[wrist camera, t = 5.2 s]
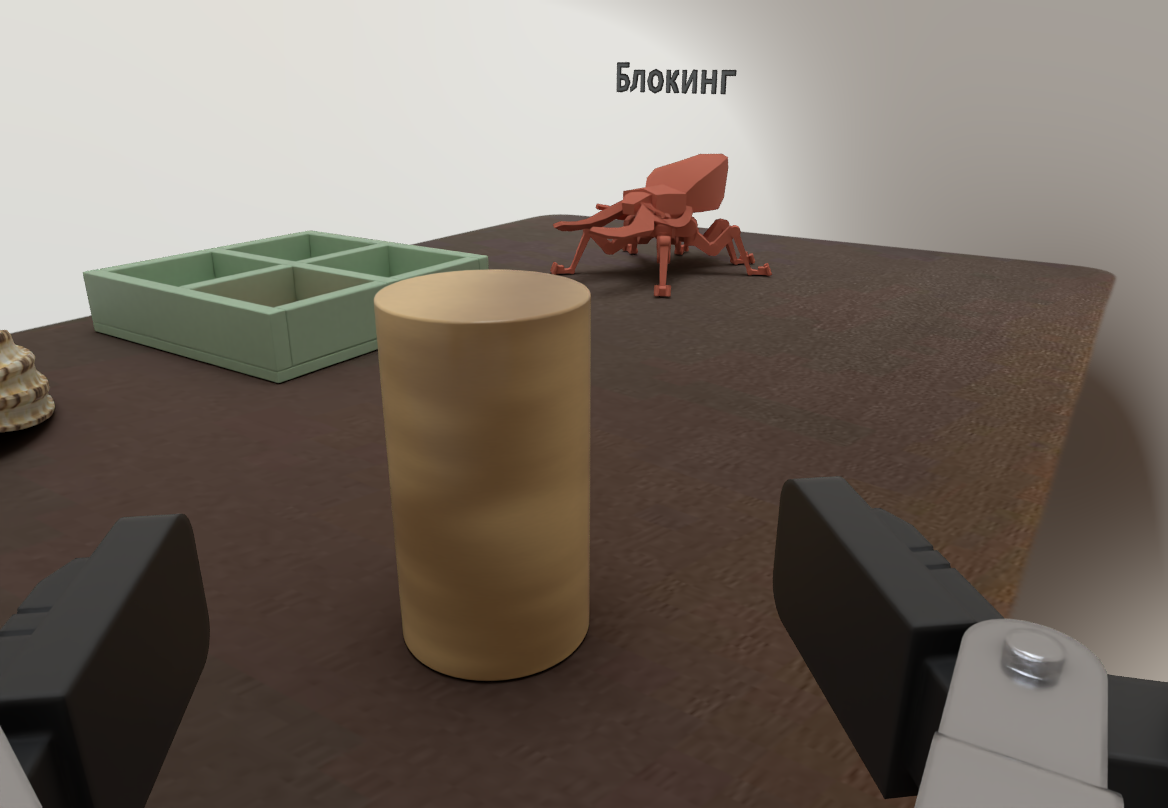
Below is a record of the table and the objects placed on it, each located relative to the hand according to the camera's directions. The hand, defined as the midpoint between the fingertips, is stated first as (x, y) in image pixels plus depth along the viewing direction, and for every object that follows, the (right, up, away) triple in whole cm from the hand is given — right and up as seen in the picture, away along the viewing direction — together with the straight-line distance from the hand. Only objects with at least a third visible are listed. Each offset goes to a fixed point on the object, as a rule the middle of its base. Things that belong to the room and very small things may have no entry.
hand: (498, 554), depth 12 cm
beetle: (+6, +10, +44) cm, 45 cm away
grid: (-14, +6, +33) cm, 36 cm away
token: (-1, -3, +9) cm, 9 cm away
